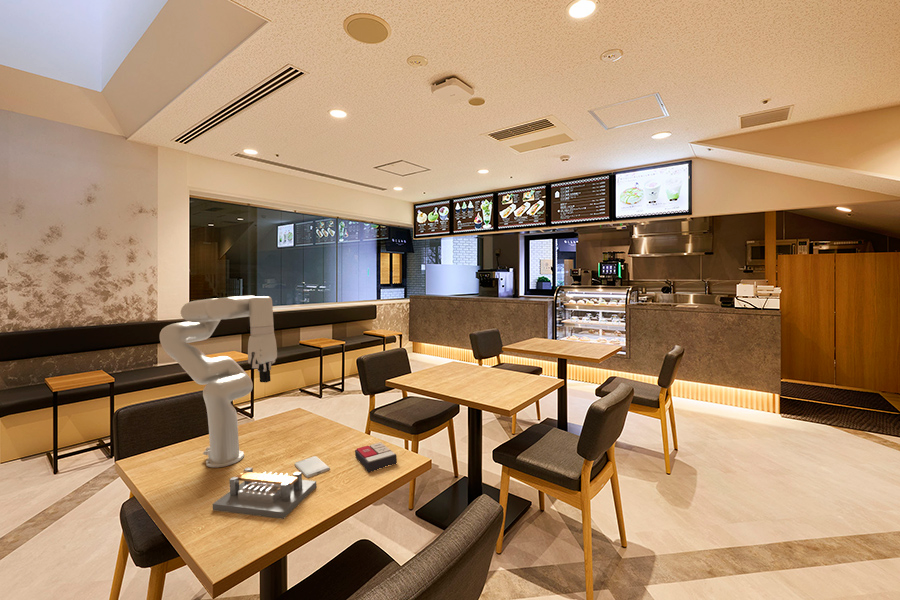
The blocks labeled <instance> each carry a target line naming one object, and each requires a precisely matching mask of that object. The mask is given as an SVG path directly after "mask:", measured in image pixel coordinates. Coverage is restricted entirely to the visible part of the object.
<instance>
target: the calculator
mask: <svg viewBox="0 0 900 600" xmlns="http://www.w3.org/2000/svg"><path fill="white" fill-rule="evenodd" d="M354 454H355V456H356V457H355V458H356V459H357V461H358V460H359V461H360V462H359V461H358V462H359V463H360V464H361V465H362V466H363V468H364V467H365V468H364V470H365V471H367V473H372V472H375V471H374V470H376V471H378V470H377V469H379V468H382V469H384V468H383V467H385V466H388V465H392V464H395V465H397V464H398V458H397V454H396V453H395V452H393V451H392V450H391V449H390V448H389V447H387V446H386V445H385V444H384V443H383V442H381V441H380V442H375V443H373V444H369V445H365V446H362V447H358V448H356V449H355V450H354ZM396 463H397V464H396ZM392 466H393V465H392ZM379 470H380V469H379ZM371 471H372V472H371Z"/></svg>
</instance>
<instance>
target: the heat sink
mask: <svg viewBox="0 0 900 600" xmlns="http://www.w3.org/2000/svg"><path fill="white" fill-rule="evenodd" d="M243 471H247V472H252V473H254V471H253V467H248V466H247V467H245V468H244V469H243ZM262 474H272V475H282V476H289V473H285V474H283V472H281V473H279V474H278V472H275V473H273V472H272V471H270V472H268V473H267V471H264V472H263V473H262ZM302 474H303V473H302V472H301V471H300V472H299V471H295V472H294V473H293V474H292V476H293V477H298V480H297V481H296V482H294V483H293V484H292V485H291V486H290V482H283V483H282V484H281V485H280V484H270V483H260V482H251V481H243V482H244V484H245V485H246V486H245V487H243V488H242V489H241V490H239V485H240V480H239V477H236V476H232V477H231V478H229V482H228V483H229V492H230V496H237V495H238V499H241V500H250V501H259V502H268V503H274V502H275V501H276V500H277V499H278V498H279V497H281V501H282V502H288V501H289V500H290V499H291V497H290V488H291V487H292V486H293V487H294V491H300V490H301V489H302V480H303V476H302Z"/></svg>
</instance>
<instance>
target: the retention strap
mask: <svg viewBox="0 0 900 600" xmlns="http://www.w3.org/2000/svg"><path fill="white" fill-rule="evenodd" d="M235 477H239V481H243V482H244V481H251V482H260V483H270V484H280V485H281V484H282V483H283V482H290V486H291V485H292V484H293V483H294V482H296V481H297V480H298V477H293V475H291V476H290V475H288V476H284V475H283V476H282V475H280V474H278V475H274V474H273V473H272V474H269V473H267V474H263V473H261V472H253V473H252V472H247V471H244V470H242V472H241V473H238V475H236V476H235Z"/></svg>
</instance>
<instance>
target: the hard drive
mask: <svg viewBox="0 0 900 600" xmlns="http://www.w3.org/2000/svg"><path fill="white" fill-rule="evenodd" d="M294 466H295V468H297V470H299V471H300V472H302V474H303V476H304V477H306V478H307V479H308V478H311V477H314V476H316V475H317V476H318V475H320V474H322V473H326V472H328V471H331V469H330V466H328V464H326V463H325V462H324V461H323V460H322V459H320V458H319V457H318V456H316V455H313V456H311V457H308V458H305V459H302V460H299V461H296V462H294Z"/></svg>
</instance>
